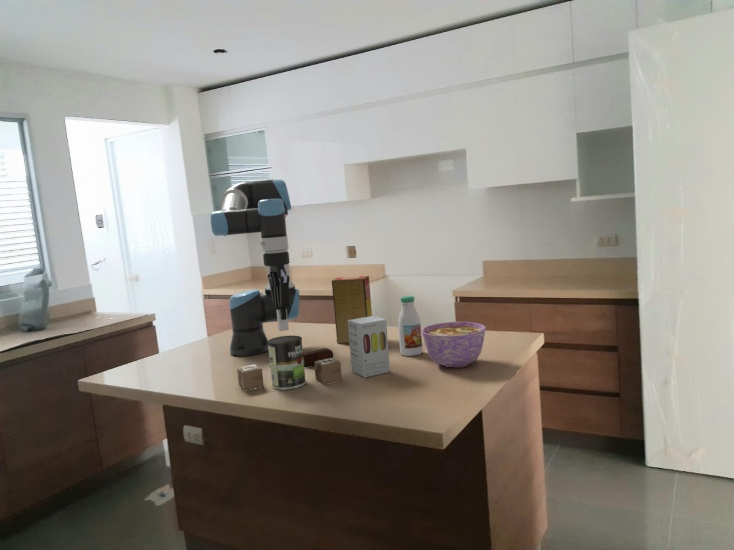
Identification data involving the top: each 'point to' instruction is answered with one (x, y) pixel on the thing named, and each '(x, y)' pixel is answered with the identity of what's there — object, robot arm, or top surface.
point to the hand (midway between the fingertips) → (283, 330)
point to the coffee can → (286, 362)
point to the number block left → (250, 377)
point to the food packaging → (350, 303)
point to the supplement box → (368, 346)
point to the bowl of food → (454, 342)
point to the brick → (316, 356)
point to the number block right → (328, 371)
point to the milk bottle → (409, 328)
